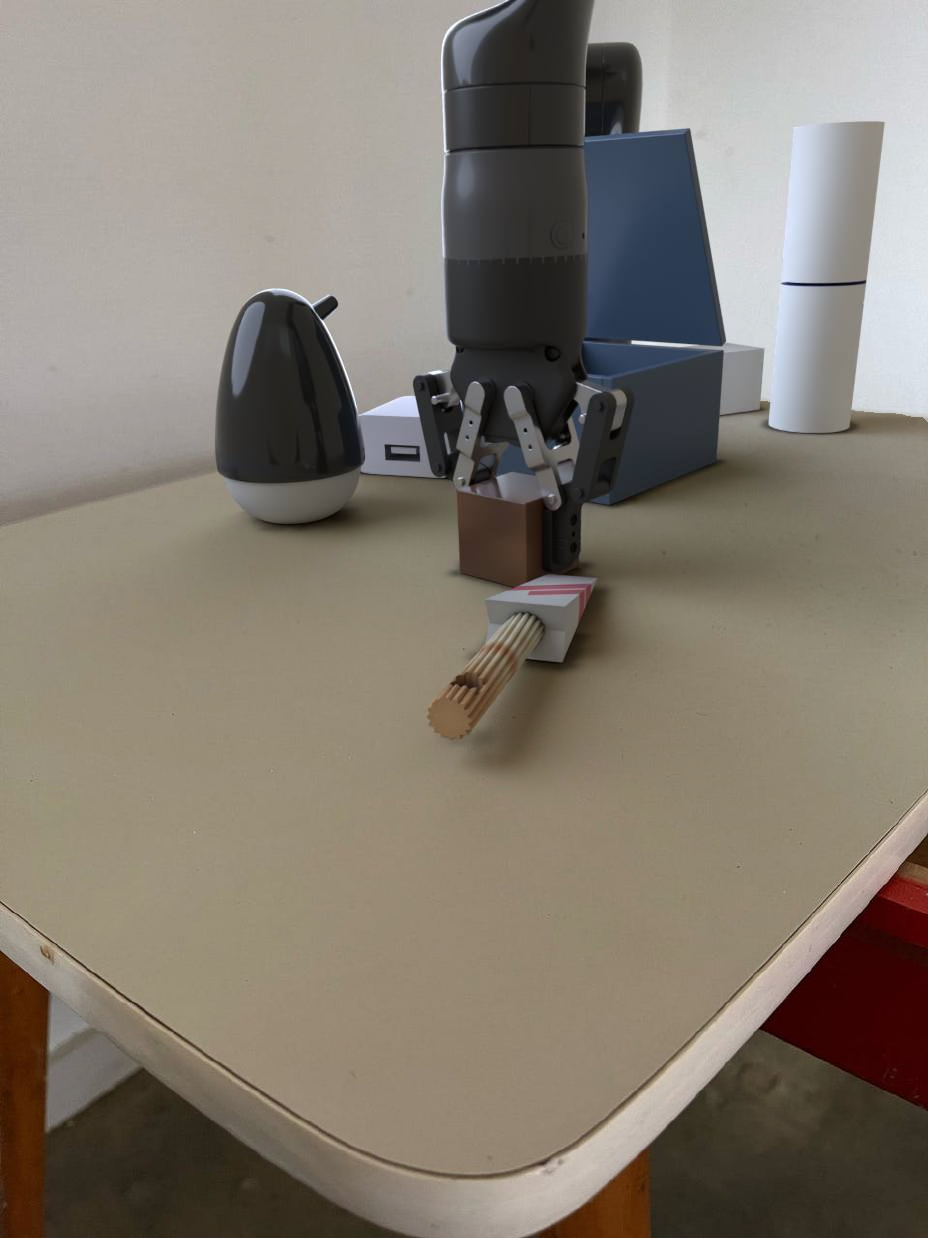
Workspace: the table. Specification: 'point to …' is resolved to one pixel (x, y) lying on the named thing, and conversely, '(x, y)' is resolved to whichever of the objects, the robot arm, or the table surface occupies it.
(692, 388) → the blue storage bin
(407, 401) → the charger
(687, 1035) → the table surface
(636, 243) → the lid
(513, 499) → the block
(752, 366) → the white cube
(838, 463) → the table surface
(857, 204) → the cylindrical container
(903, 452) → the table surface
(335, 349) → the pump dispenser
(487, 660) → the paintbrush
